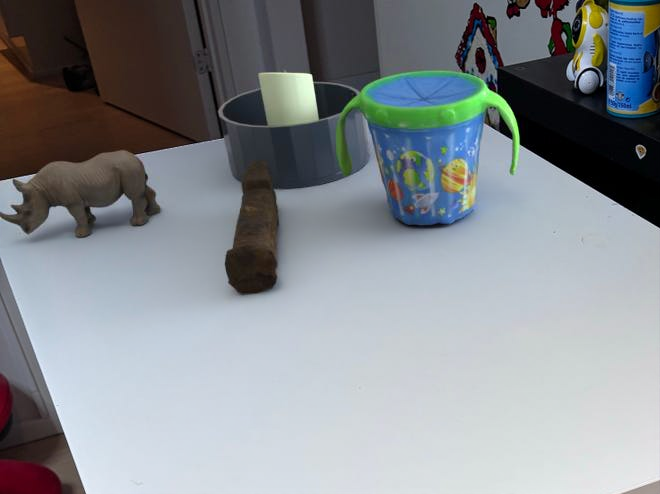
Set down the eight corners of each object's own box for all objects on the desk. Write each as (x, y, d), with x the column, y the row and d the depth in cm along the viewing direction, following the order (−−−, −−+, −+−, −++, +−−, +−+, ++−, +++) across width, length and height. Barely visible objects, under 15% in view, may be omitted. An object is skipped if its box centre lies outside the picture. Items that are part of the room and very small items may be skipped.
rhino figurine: (7, 237, 92) (-19, 168, 88) (158, 206, 96) (140, 138, 92) (12, 254, 89) (-15, 183, 85) (167, 220, 93) (148, 151, 89)
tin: (219, 192, 97) (205, 131, 94) (244, 143, 107) (232, 86, 104) (362, 184, 97) (354, 122, 93) (374, 135, 107) (367, 78, 103)
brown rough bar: (281, 293, 80) (270, 235, 77) (230, 297, 80) (217, 239, 77) (298, 204, 94) (289, 151, 91) (255, 207, 94) (244, 154, 91)
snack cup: (531, 192, 93) (528, 68, 86) (507, 240, 85) (501, 109, 78) (368, 188, 96) (352, 68, 89) (331, 234, 88) (311, 107, 81)
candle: (285, 147, 104) (269, 57, 98) (331, 148, 103) (317, 57, 97) (266, 165, 100) (248, 73, 95) (314, 166, 99) (298, 73, 94)
